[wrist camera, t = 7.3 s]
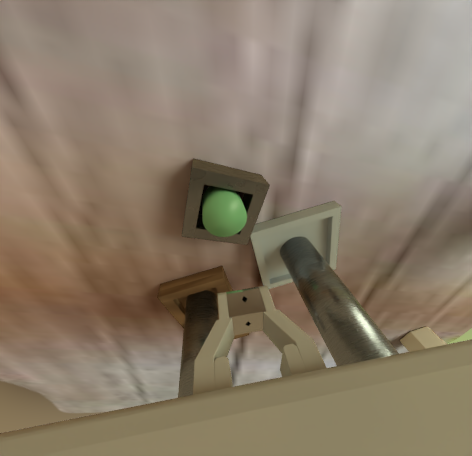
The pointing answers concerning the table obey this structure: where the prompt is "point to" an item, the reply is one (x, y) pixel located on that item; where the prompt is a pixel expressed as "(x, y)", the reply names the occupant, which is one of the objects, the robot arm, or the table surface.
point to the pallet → (193, 291)
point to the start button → (223, 211)
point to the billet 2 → (333, 306)
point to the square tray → (289, 226)
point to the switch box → (226, 179)
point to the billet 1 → (195, 334)
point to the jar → (421, 339)
